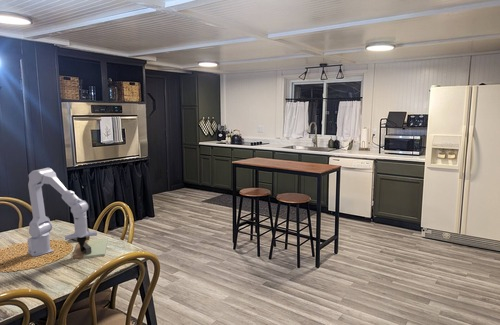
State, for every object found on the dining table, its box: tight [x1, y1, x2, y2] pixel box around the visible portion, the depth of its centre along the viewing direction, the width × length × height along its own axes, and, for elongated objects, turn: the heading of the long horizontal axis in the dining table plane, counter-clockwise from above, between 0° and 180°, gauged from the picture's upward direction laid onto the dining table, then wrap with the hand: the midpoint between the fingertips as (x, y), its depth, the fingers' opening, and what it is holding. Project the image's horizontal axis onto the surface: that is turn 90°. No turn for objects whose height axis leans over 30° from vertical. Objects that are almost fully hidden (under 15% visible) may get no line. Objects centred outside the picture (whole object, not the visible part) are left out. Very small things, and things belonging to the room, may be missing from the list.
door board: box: [71, 238, 109, 260], centre depth 181 cm, size 22×15×4 cm
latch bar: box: [80, 242, 92, 254], centre depth 176 cm, size 9×3×3 cm, turn 43°
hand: (82, 251), depth 174 cm, fingers closed, pressing on latch bar
